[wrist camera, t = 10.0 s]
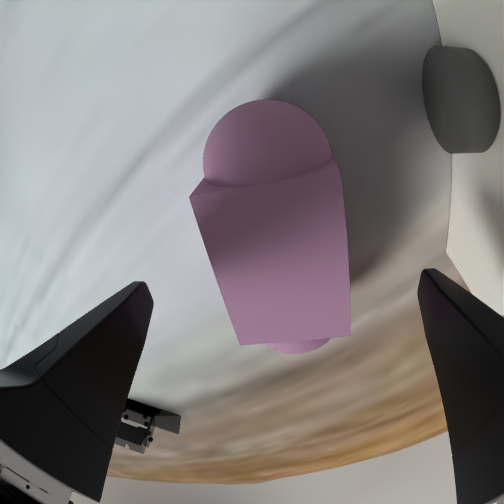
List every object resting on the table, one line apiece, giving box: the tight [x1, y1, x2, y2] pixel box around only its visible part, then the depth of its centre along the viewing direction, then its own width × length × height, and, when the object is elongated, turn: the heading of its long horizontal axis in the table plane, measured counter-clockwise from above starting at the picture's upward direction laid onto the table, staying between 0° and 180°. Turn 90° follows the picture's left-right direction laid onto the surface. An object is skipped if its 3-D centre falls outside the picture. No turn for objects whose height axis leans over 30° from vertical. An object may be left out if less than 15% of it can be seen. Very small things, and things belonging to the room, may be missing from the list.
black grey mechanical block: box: [115, 398, 181, 454], centre depth 26 cm, size 12×7×5 cm, turn 78°
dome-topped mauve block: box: [189, 100, 351, 354], centre depth 12 cm, size 11×4×4 cm, turn 13°
